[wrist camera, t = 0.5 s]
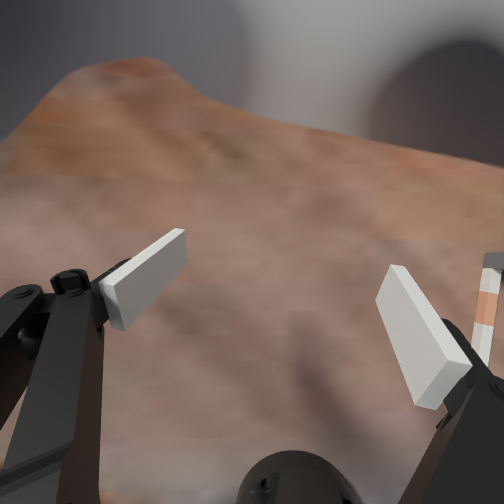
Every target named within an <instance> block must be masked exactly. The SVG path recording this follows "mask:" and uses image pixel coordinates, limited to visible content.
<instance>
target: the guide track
mask: <svg viewBox="0 0 504 504" xmlns="http://www.w3.org/2000/svg"><path fill="white" fill-rule="evenodd" d="M502 272H504V252H492V253H485V257H484V264H483V270H482V277H481V283H480V290H479V296H478V303H477V309H476V316H475V322H474V329H473V335H472V342H471V348H473V349H474V350H475V351H476V353H477V354H478V355H479V357H480V358H481V359H482V361H483V362H484V363H485V365H486V366H487V367H488V361H489V354H490V348H491V341H492V334H493V328H494V321H495V314H496V308H497V301H498V294H499V288H500V281H501V274H502Z"/></svg>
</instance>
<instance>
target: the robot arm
mask: <svg viewBox="0 0 504 504" xmlns="http://www.w3.org/2000/svg"><path fill="white" fill-rule="evenodd" d="M187 264H188V263H187V247H186V232H185V230H183V229H177V228H174V229H173V230H172V231H170V232H169V233H167V234H166V235H165V236H163V237H162V238H160V239H159V240H158V241H156V242H155V243H153V244H152V245H150V246H149V247H148V248H146V249H145V250H143V251H142V252H141V253H139V254H138V255H136V256H135V257H133V258H129V259H126V260H123V261H121V262H119V263H118V264H116V265H115V266H114V267H112V268H111V269H109V270H108V271H106V272H105V273H103V274H102V275H100V276H99V277H97V278H96V279H94V280H93V281H91V282H89V279H88V275H87V272H86V271H85V270H82V269H71V270H66V271H63V272H60V273H58V274H56V275H55V276H53V277H52V278H51V280H50V282H51V284H52V287H53V289H54V291H55V293H44V292H43V290H42V288H41V286H39V285H36V284H30V285H23V286H19V287H16V288H14V289H12V290H10V291H8V292H7V293H5V294H4V295H3V296H2V297H1V298H0V430H1V429H2V427H3V425H4V424H5V422H6V420H7V419H8V417H9V415H10V414H11V412H12V410H13V409H14V407H15V405H16V404H17V402H18V401H19V399H20V397H21V396H22V394H23V392H24V391H25V389H26V387H27V386H28V387H27V391H26V394H25V397H24V400H23V403H22V407H21V410H20V413H19V416H18V419H17V423H16V426H15V429H14V432H13V435H12V438H11V442H10V445H9V448H8V451H7V454H6V458H5V461H4V464H3V467H2V470H1V473H0V504H101V503H100V497H99V459H100V433H101V407H102V381H103V356H104V330H105V329H104V326H103V324H104V323H105V322H106V321H107V320H108V319H109V321H110V324H111V328H115V329H119V330H123V331H126V330H127V329H128V328H129V326H130V325H131V324H132V323H133V322H134V321H135V320H136V319H137V318H138V317H139V316H140V315H141V314H142V313H143V311H144V310H145V309H146V308H147V307H148V306H149V305H150V304H151V303H152V302H153V301H154V300H155V299H156V298H157V296H158V295H159V294H160V293H161V292H162V291H163V290H164V289H165V288H166V287H167V286H168V285H169V284H170V283H171V281H172V280H173V279H174V278H175V277H176V276H177V275H178V274H179V273H180V272H181V271H182V270H183V269H184V268H185V266H186V265H187ZM375 301H376V304H377V306H378V309H379V312H380V314H381V317H382V320H383V322H384V325H385V328H386V330H387V333H388V335H389V338H390V341H391V343H392V346H393V349H394V351H395V354H396V357H397V359H398V362H399V364H400V367H401V370H402V372H403V375H404V378H405V380H406V383H407V386H408V388H409V391H410V393H411V396H412V399H413V401H414V404H415V405H417V406H421V407H424V408H428V409H432V410H437V408H438V407H439V406H440V405H441V404H442V402H444V404H445V406H446V408H447V410H448V413H447V414H446V416H445V417H444V418H443V419H442V420H441V421H440V422H439V424H438V425H437V426H436V427H435V428H437V429H438V430H437V432H436V433H435V435H434V437H433V439H432V441H431V443H430V445H429V447H428V448H427V450H426V452H425V454H424V456H423V458H422V460H421V462H420V463H419V465H418V467H417V469H416V471H415V473H414V475H413V477H412V479H411V480H410V482H409V484H408V486H407V488H406V490H405V492H404V494H403V495H402V497H401V499H400V501H399V503H398V504H504V380H503V379H501V378H499V377H497V376H494V375H493V374H492V373H491V371H490V370H489V369H488V367H487V366H486V365H485V363H484V362H483V361H482V359H481V358H480V357H479V355H478V354H477V353H476V351H475V350H474V349H473V348H471V345H470V343H469V342H468V341H467V340H466V338H465V337H464V335H463V334H462V333H461V331H460V330H459V329H458V328H457V327H456V326H455V325H453V324H452V323H451V322H450V321H449V320H447V319H442V318H440V317H439V316H438V314H437V313H436V312H435V310H434V309H433V307H432V306H431V304H430V303H429V301H428V300H427V299H426V297H425V296H424V294H423V293H422V291H421V290H420V288H419V287H418V286H417V284H416V283H415V281H414V280H413V278H412V277H411V275H410V274H409V272H408V271H407V270H406V268H405V267H403V266H397V265H390V267H389V269H388V272H387V274H386V276H385V279H384V281H383V283H382V286H381V288H380V290H379V293H378V295H377V298H376V300H375ZM19 332H20V335H19V336H18V334H19ZM236 504H356V503H355V500H354V498H353V495H352V492H351V490H350V488H349V486H348V484H347V482H346V481H345V479H344V478H343V477H342V475H341V474H340V473H339V472H338V471H337V470H336V469H335V468H334V467H333V466H332V465H331V464H330V463H328V462H327V461H325V460H324V459H322V458H320V457H318V456H316V455H313V454H311V453H307V452H302V451H283V452H278V453H275V454H272V455H270V456H267V457H266V458H264V459H262V460H261V461H259V462H258V463H257V464H256V465H255V466H254V467H253V468H252V469H251V470H250V471H249V472H248V474H247V475H246V476H245V478H244V480H243V482H242V484H241V486H240V489H239V492H238V496H237V502H236Z"/></svg>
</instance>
